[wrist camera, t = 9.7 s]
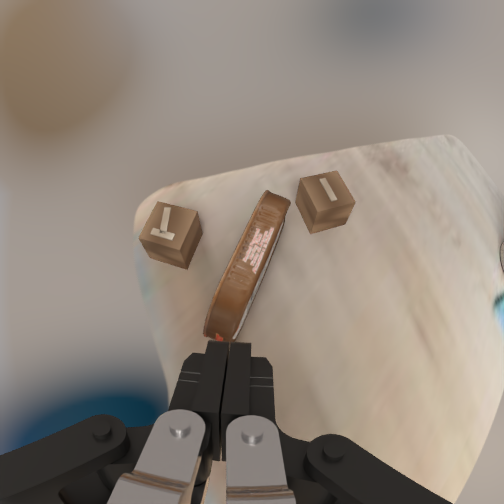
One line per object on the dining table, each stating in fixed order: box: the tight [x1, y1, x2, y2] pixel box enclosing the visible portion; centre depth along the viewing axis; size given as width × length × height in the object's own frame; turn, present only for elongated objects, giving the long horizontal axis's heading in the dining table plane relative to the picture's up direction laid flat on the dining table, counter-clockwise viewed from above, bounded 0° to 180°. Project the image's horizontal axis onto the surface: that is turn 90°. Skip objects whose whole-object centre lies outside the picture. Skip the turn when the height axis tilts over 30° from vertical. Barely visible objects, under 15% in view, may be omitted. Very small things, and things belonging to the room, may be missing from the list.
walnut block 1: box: [295, 171, 355, 234], centre depth 35 cm, size 4×4×5 cm
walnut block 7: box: [139, 202, 202, 269], centre depth 33 cm, size 4×4×5 cm
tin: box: [203, 190, 291, 344], centre depth 29 cm, size 15×3×8 cm, turn 158°
